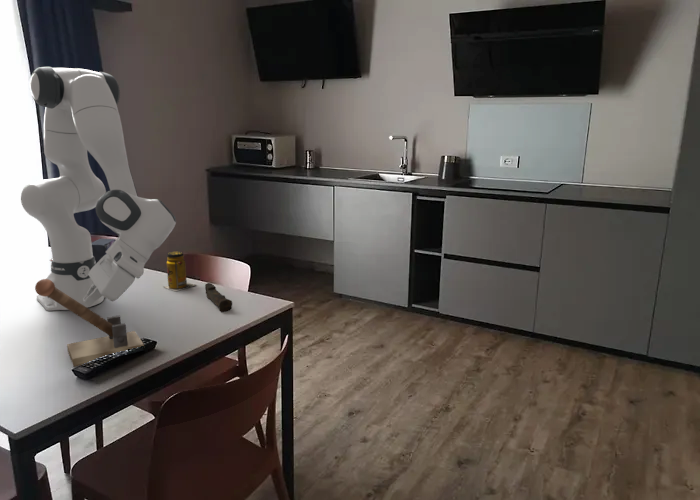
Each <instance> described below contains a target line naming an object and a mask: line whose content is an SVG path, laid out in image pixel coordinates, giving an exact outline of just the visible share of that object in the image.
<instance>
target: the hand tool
mask: <svg viewBox="0 0 700 500" xmlns="http://www.w3.org/2000/svg"><path fill="white" fill-rule="evenodd" d="M204 287H205V288H204V289H205V294H206V297H207V300H211V302H212V303H213V304H214V305H216V306H217V307H218V310H219V312H220V313H226V312H227V313H228V312H230V311H232V308H233V301H232V299H231V300H230V299H228V298H227V297H226V296H225V295H223V294H222V293H220V292H219V291H218V290H217V288H216V286H215V285H214V284H213V283H211V282H207V283H205V285H204Z"/></svg>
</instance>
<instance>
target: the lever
mask: <svg viewBox="0 0 700 500" xmlns="http://www.w3.org/2000/svg"><path fill="white" fill-rule="evenodd" d="M34 288H35V289H34V290H35V293H36V294H37V295H40V296H48V297H49V298H51V299H53V300H54V301H56V302H57V303H59V304H60V305H62V306H64V307H65V308H67V309H68V310H67V311H70V312H71V313H73V314H75V315H76V316H78V317H80V318H81V319H83V320H84V321H86V322H88V324H91V325H92V326H93V327H96V329H99V330H100V331H101V332H102V333H105V334H107V336H111V337H112V336H113V333H112V325H113V324H111V323H110V322H108V321H107V319H105V318H104V317H102V316H100V315H99V314H97V313H95V312H94V311H93V310H91V309H90V308H89V307H85V306H84V305H82V304H80V303H79V302H77V301H76V300H74V299H73V298H71V297H70V296H68V295H67V294H65V293H64V292H62V291H60V290H59V289H57V288H56V287H55V285H54V283H53V282H52V281H51V280H49V279H46V278H43V279H41V280H38V281H37V282H36V284H35V287H34Z"/></svg>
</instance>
